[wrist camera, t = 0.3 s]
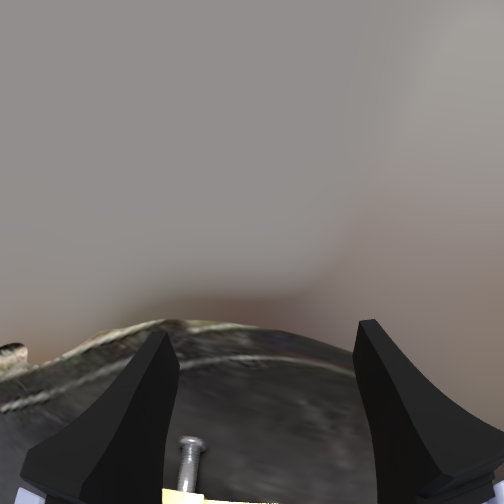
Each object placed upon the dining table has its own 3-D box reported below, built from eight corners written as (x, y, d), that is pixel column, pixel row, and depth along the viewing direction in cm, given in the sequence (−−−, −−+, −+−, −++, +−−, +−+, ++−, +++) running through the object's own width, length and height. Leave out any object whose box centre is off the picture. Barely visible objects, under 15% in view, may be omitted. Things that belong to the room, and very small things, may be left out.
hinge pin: (198, 528, 18) (194, 526, 17) (168, 523, 18) (162, 520, 17) (207, 447, 25) (205, 438, 24) (181, 444, 26) (176, 434, 24)
